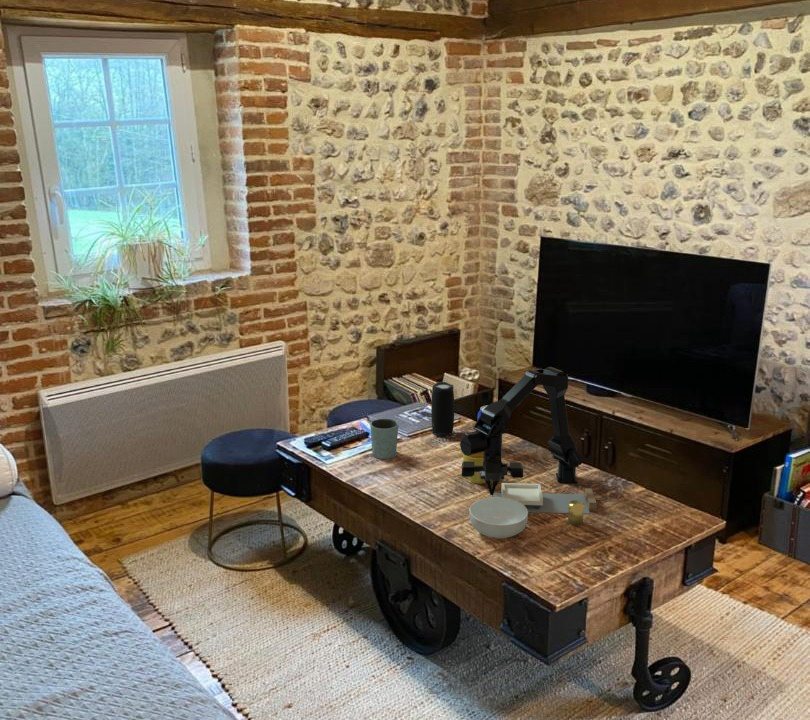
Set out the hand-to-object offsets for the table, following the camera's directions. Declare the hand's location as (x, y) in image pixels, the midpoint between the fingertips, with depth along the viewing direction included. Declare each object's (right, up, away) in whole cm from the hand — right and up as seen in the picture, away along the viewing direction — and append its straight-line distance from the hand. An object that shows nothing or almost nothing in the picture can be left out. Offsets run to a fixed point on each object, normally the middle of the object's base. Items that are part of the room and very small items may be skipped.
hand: (491, 494), depth 249 cm
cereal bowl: (0, -8, -18) cm, 19 cm away
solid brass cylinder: (+23, -6, -13) cm, 27 cm away
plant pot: (-3, +2, +16) cm, 17 cm away
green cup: (-34, +8, +37) cm, 51 cm away
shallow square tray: (+9, -2, 0) cm, 10 cm away
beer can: (+3, +9, +40) cm, 41 cm away
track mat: (+15, -2, 0) cm, 15 cm away
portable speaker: (-13, +14, +55) cm, 58 cm away
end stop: (+30, -3, -2) cm, 30 cm away
